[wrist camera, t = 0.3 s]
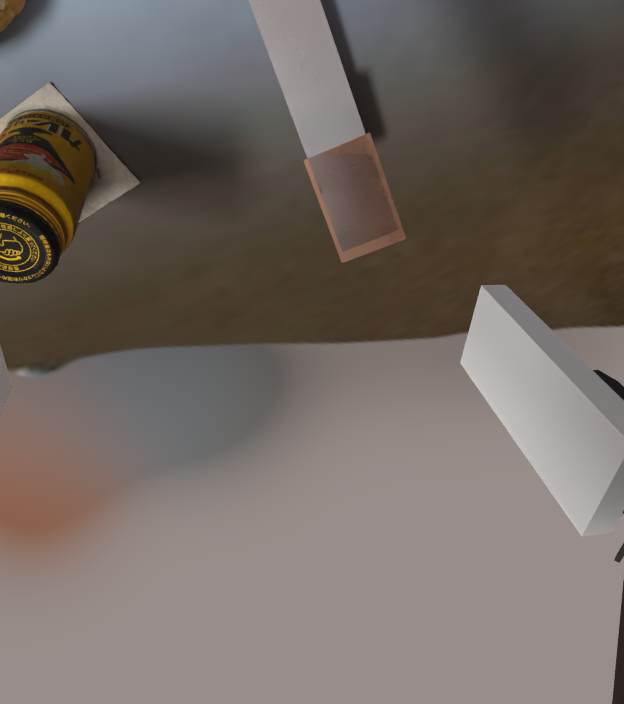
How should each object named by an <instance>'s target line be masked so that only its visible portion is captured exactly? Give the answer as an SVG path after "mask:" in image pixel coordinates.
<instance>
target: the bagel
mask: <svg viewBox="0 0 624 704" xmlns="http://www.w3.org/2000/svg"><path fill="white" fill-rule="evenodd" d="M25 2H26V0H0V32H1V31H3V30H4V29H5V28H6V27H7V26H8V25H9V24H10V23H11V22H12V20H13V18H14V17H15V15H18V14H19V13H20V12H21V11H22V9H23V8H24V5H25Z"/></svg>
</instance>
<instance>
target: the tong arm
mask: <svg viewBox="0 0 624 704" xmlns="http://www.w3.org/2000/svg"><path fill="white" fill-rule="evenodd" d="M249 3H250V5H251V8H252V11H253V13H254V16H255V19H256V21H257V24H258V27H259V29H260V32H261V35H262V38H263V40H264V43H265V46H266V48H267V51H268V54H269V56H270V59H271V62H272V64H273V67H274V70H275V72H276V75H277V78H278V80H279V83H280V86H281V89H282V91H283V94H284V97H285V99H286V102H287V105H288V107H289V110H290V113H291V115H292V118H293V121H294V123H295V126H296V129H297V131H298V134H299V137H300V140H301V142H302V145H303V148H304V150H305V153H306V156H307V158H308V159H306V160H304V163H305V166H306V168H307V171H308V174H309V176H310V179H311V182H312V184H313V187H314V190H315V192H316V195H317V198H318V200H319V203H320V206H321V208H322V211H323V214H324V216H325V219H326V222H327V224H328V227H329V230H330V232H331V235H332V238H333V240H334V243H335V246H336V248H337V251H338V254H339V256H340V259H341V262H342V263H344V262H346V261H349V260H352V259H354V258H357V257H360V256H362V255H365V254H367V253H370V252H373V251H375V250H378V249H381V248H383V247H386V246H389V245H391V244H394V243H396V242H399V241H402V240H404V239H406V237H405V234H404V231H403V228H402V225H401V223H400V220H399V217H398V214H397V211H396V208H395V205H394V202H393V199H392V196H391V193H390V190H389V187H388V184H387V181H386V178H385V175H384V172H383V169H382V166H381V163H380V160H379V157H378V154H377V152H376V149H375V146H374V143H373V140H372V137H371V134H370V133H368V134H366V133H365V130H364V127H363V125H362V122H361V119H360V116H359V113H358V110H357V107H356V104H355V101H354V98H353V95H352V92H351V89H350V86H349V83H348V80H347V78H346V75H345V72H344V69H343V66H342V63H341V60H340V57H339V54H338V51H337V48H336V45H335V42H334V39H333V36H332V33H331V30H330V28H329V25H328V22H327V19H326V16H325V13H324V10H323V7H322V4H321V1H320V0H249Z"/></svg>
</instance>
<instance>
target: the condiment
mask: <svg viewBox="0 0 624 704" xmlns="http://www.w3.org/2000/svg"><path fill="white" fill-rule="evenodd" d="M98 168H99V174H100V178H98V176H97V175H98V172H97V169H98ZM138 184H140V182H139V181H138V179H137V178H136V177H135V176H134V175H133V174H132V173H131V172H130V171H129V169H128V168H127V167H126V166H125V165H124V164H123V163H122V162H121V161H120V160H119V159H118V158H117V157H116V155H115V154H114V153H113V152H112V151H111V150H110V149H109V147H108V146H107V145H106V144H105V143H104V142H103V141H102V140H101V138H100V137H99V136H98V135H97V134H96V133H95V131H94V130H93V129H92V128H91V127H90V126H89V125H88V124H87V123H86V122H85V120H84V119H83V118H82V117H81V116H80V115H79V114H78V113H77V111H76V110H75V109H74V108H73V107H72V106H71V105H70V104H69V103H68V102H67V101H66V100H65V98H64V97H63V96H62V95H61V94H60V93H59V92H58V91H57V90H56V89H55V87H54V86H53V85H51V84H50V83H49V82H48V83H47V84H46V85H44V86H43V87H42V88H40V89H39V90H38V91H37V92H35V93H34V94H32V95H31V96H30V97H28V98H27V99H26V100H24V101H23V102H22V103H20V104H19V105H18V106H17V107H15V108H14V109H13V110H11V111H10V112H9V113H7V114H6V115H5V116H3V117H2V118H1V119H0V281H1V282H7V283H32V282H36V281H38V280H41V279H43V278H44V277H46V276H48V275H49V274H50V273H51V272H52V271H53V270H54V269H55V267H56V266H57V264H58V261H59V257H60V256H61V254H62V253H63V252H64V251H65V250H66V249H67V248H68V247H69V245H70V243H71V241H72V240H73V237H74V235H75V232H76V229H77V226H78V223H80V222H81V221H83V220H84V219H86V218H87V217H89V216H90V215H92V214H93V213H95V212H96V211H97V210H99V209H101V208H102V207H104V206H105V205H107V204H108V203H109V202H111V201H113V200H115V199H116V198H118V197H119V196H121V195H122V194H124V193H125V192H127V191H128V190H130V189H132V188H134V187H135V186H137V185H138Z"/></svg>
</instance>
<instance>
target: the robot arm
mask: <svg viewBox="0 0 624 704" xmlns="http://www.w3.org/2000/svg"><path fill="white" fill-rule="evenodd" d="M460 363H461V365H462V366H463V368H464V369H465V371H466V372H467V373H468V375H469V376H470V378H471V379H472V381H473V382H474V384H475V385H476V386H477V388H478V389H479V391H480V392H481V393H482V395H483V396H484V398H485V399H486V401H487V402H488V403H489V405H490V406H491V408H492V409H493V410H494V412H495V413H496V415H497V416H498V418H499V419H500V420H501V422H502V423H503V425H504V426H505V428H506V429H507V430H508V432H509V433H510V435H511V436H512V438H513V439H514V440H515V442H516V443H517V445H518V446H519V448H520V449H521V450H522V452H523V453H524V455H525V456H526V457H527V459H528V460H529V462H530V463H531V465H532V466H533V468H534V469H535V470H536V472H537V473H538V475H539V476H540V478H541V479H542V480H543V482H544V483H545V485H546V486H547V488H548V489H549V490H550V492H551V493H552V495H553V496H554V497H555V499H556V500H557V502H558V503H559V505H560V506H561V507H562V509H563V510H564V512H565V513H566V515H567V516H568V517H569V519H570V520H571V522H572V523H573V524H574V526H575V527H576V529H577V530H578V532H579V533H580V535H581V536H589V535H597V534H605V533H612V532H613V531H614V529H615V527H616V525H617V524H618V522H619V520H620V518H621V517H622V515H623V514H624V387H623V386H622V385H621V384H620V383H619V382H618V381H616V380H615V379H613V378H611V377H609V376H608V375H606V374H604V373H603V372H601V371H599V370H592V369H591V368H590V367H589V366H588V365H587V364H586V363H585V362H584V361H583V360H582V359H581V358H580V357H579V356H578V355H576V353H575V352H573V351H572V350H571V349H570V348H569V347H568V346H567V345H566V344H565V343H564V342H563V341H562V340H561V339H560V338H559V337H558V336H557V335H556V334H555V333H554V332H553V331H552V330H551V329H550V328H549V327H548V326H547V325H546V324H545V323H544V322H543V321H542V320H541V319H540V318H539V317H538V316H537V315H536V314H535V313H534V312H533V311H532V310H531V309H530V308H528V307H527V306H526V305H525V304H524V303H523V302H522V301H521V300H520V299H519V298H518V297H517V296H516V295H515V294H514V293H513V292H512V291H511V290H510V289H509V288H508V287H507V286H506V285H481V289H480V292H479V296H478V300H477V303H476V307H475V311H474V314H473V318H472V322H471V325H470V329H469V333H468V337H467V340H466V344H465V347H464V351H463V355H462V359H461V362H460ZM11 388H12V384H11V381H10V378H9V374H8V371H7V367H6V364H5V360H4V357H3V353H2V350H1V347H0V414H1V411H2V409H3V407H4V404H5V402H6V400H7V397H8V395H9V393H10V390H11ZM623 556H624V543H623V545H622V547H621V548H620V550H619V552H618V553H617V556H616V558H615V561H617V562H620V561H621V559H622V558H623ZM612 704H624V582H623V593H622V604H621V615H620V627H619V636H618V648H617V658H616V669H615V681H614V691H613V702H612Z"/></svg>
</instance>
